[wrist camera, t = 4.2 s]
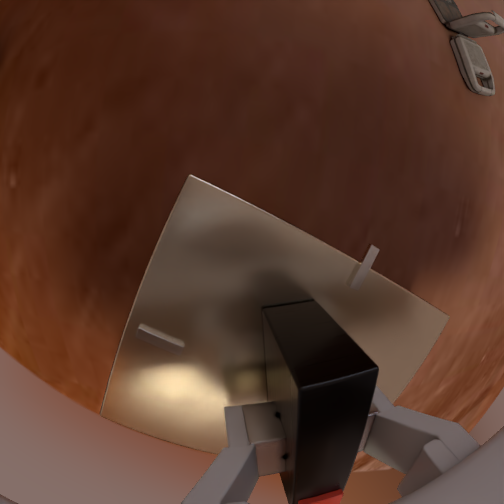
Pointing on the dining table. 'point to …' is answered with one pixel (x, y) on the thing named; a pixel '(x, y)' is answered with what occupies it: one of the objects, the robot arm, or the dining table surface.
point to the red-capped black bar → (317, 398)
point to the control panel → (245, 316)
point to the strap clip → (470, 42)
